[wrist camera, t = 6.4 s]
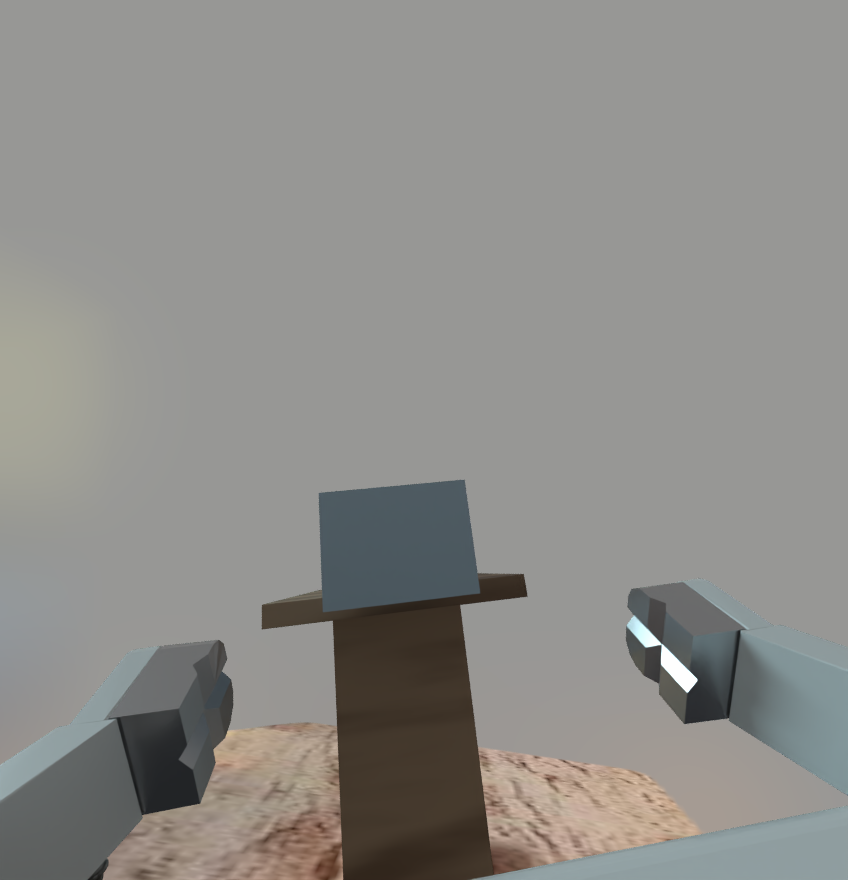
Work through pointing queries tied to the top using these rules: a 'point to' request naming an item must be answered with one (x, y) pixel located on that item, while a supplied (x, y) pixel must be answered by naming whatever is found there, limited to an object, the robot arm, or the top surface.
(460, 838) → the shelf stand
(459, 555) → the batten
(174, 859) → the top surface
